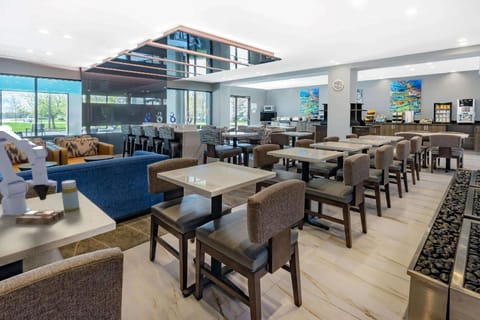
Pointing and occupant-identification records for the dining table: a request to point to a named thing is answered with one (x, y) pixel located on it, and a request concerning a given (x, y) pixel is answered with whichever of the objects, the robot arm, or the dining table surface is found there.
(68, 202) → the bottle
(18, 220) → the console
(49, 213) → the terracotta key
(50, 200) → the dining table surface
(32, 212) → the cream key
